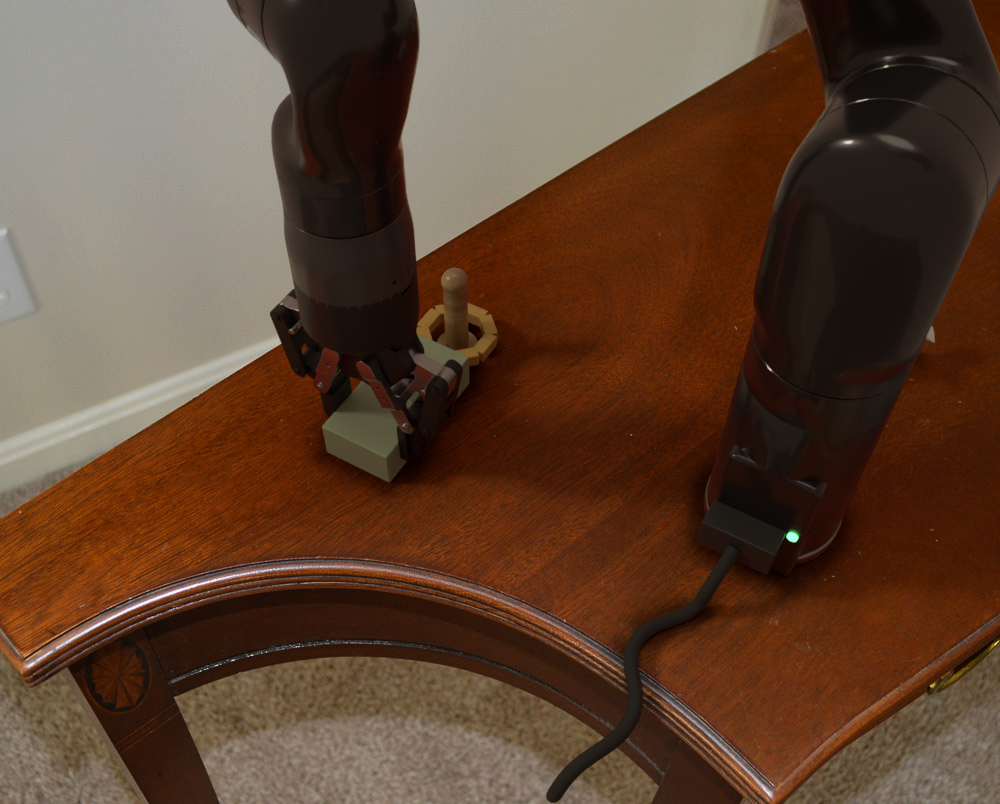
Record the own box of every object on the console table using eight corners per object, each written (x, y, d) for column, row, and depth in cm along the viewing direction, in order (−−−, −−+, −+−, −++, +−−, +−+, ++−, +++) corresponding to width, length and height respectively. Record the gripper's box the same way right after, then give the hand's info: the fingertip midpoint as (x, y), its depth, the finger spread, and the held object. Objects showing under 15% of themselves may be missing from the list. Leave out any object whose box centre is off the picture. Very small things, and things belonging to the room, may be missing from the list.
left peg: (464, 369, 84) (461, 293, 77) (429, 353, 85) (423, 276, 78) (485, 342, 85) (484, 266, 79) (450, 327, 86) (447, 250, 80)
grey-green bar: (392, 485, 77) (389, 459, 75) (323, 451, 79) (318, 424, 77) (509, 338, 86) (510, 311, 83) (445, 310, 87) (443, 282, 85)
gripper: (218, 253, 65) (266, 430, 79) (420, 343, 61) (433, 513, 75) (293, 183, 69) (326, 364, 83) (488, 263, 65) (489, 440, 79)
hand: (377, 434), depth 79 cm, fingers closed on grey-green bar, 5 cm apart
